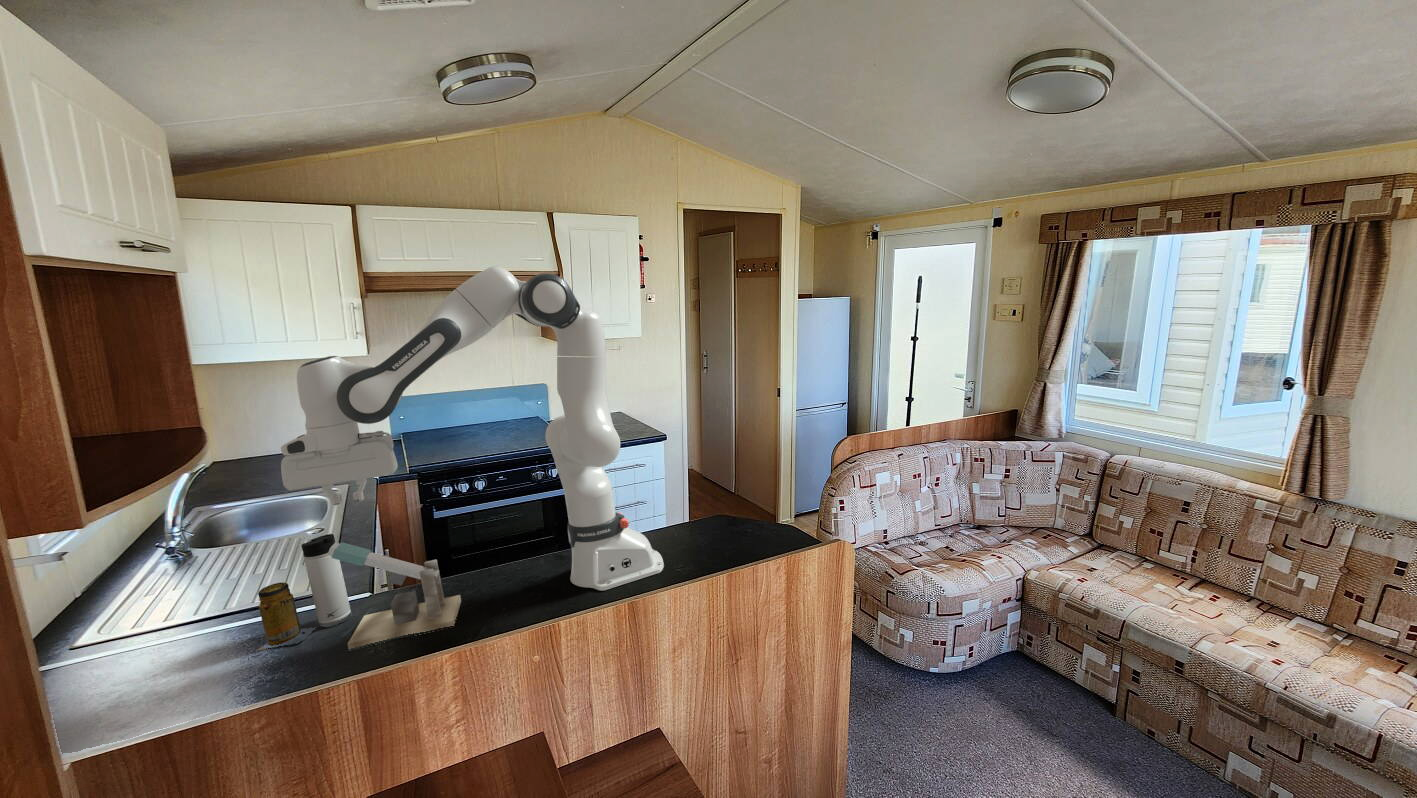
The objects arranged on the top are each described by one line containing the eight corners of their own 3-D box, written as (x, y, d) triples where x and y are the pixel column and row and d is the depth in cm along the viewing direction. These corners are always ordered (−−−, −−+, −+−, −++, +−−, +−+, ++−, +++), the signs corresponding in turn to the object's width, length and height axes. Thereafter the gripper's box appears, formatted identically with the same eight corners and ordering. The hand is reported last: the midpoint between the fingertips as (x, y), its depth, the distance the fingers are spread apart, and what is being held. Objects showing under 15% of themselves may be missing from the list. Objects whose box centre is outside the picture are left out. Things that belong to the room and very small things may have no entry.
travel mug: (337, 628, 129) (318, 542, 126) (312, 627, 130) (292, 543, 127) (359, 613, 135) (341, 531, 132) (335, 612, 136) (317, 531, 133)
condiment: (279, 632, 130) (266, 582, 128) (318, 626, 131) (307, 576, 129) (257, 651, 123) (244, 598, 121) (299, 645, 123) (287, 592, 121)
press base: (461, 600, 136) (452, 551, 134) (454, 626, 124) (443, 573, 122) (365, 621, 131) (354, 570, 129) (349, 650, 119) (336, 595, 117)
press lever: (433, 586, 130) (440, 569, 130) (429, 594, 126) (437, 577, 126) (329, 558, 123) (336, 540, 123) (321, 566, 119) (329, 548, 119)
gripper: (394, 426, 124) (406, 488, 127) (284, 442, 119) (299, 506, 121) (387, 432, 118) (399, 497, 121) (271, 448, 113) (286, 516, 115)
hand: (348, 502), depth 121 cm, fingers open, 3 cm apart
